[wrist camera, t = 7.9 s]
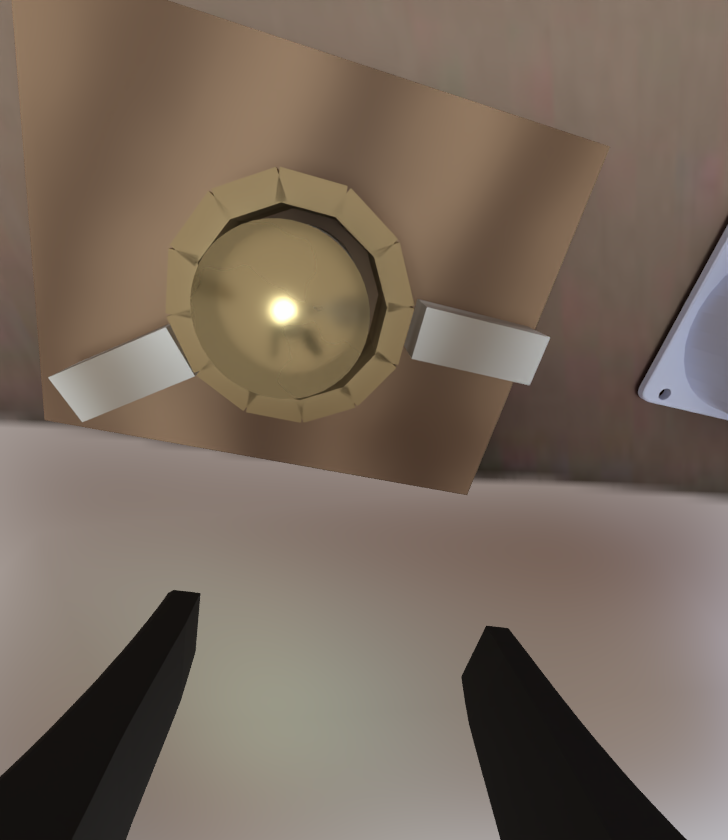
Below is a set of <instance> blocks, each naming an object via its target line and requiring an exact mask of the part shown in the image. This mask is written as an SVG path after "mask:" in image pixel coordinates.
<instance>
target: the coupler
mask: <svg viewBox="0 0 728 840" xmlns="http://www.w3.org/2000/svg"><path fill="white" fill-rule="evenodd" d="M190 308H191V317H192V322H193V326H194V329H195V333H196V336H197V338H198V340H199V342H200V344H201V347H202V348H203V350H204V352H205V353H206V355H207V356H208V358H209V359H210V360H211V362H212V363H213V364H214V365H215V367H216V368H217V369H218V370H219V371H220V372H221V373H222V374H223V375H225V376H226V377H227V378H229V379H230V380H231V381H232V382H234V383H236V384H237V385H239V386H240V387H242V388H244V389H246V390H248V391H250V392H253V393H256V394H259V395H262V396H266V397H271V398H278V399H296V398H302V397H307V396H311V395H314V394H317V393H319V392H322V391H324V390H326V389H328V388H329V387H331V386H333V385H334V384H336V383H337V382H338V381H339V380H341V379H342V378H343V377H344V376H345V375H346V374H347V373H348V372H349V371H350V370H351V368H352V367H353V366H354V364H355V363H356V362H357V360H358V358H359V356H360V355H361V353H362V350H363V348H364V345H365V343H366V339H367V335H368V331H369V323H370V308H369V300H368V295H367V291H366V287H365V284H364V282H363V279H362V277H361V274H360V272H359V270H358V269H357V267H356V265H355V263H354V261H353V259H352V257H351V255H350V253H349V252H348V250H347V249H346V248H345V246H344V245H343V244H342V243H341V242H340V241H339V240H338V239H337V238H336V237H335V236H333V235H332V234H330V233H329V232H327V231H326V230H323V229H321V228H319V227H316V226H312V225H308V224H305V223H301V222H297V221H293V220H288V219H280V218H266V219H260V220H253V221H250V222H247V223H244V224H241V225H239V226H237V227H235V228H233V229H231V230H229V231H228V232H226V233H225V234H224V235H222V236H221V237H220V238H218V239H217V240H216V241H215V242H214V243H213V244H212V245H211V246H210V248H209V249H208V250H207V252H206V253H205V254H204V256H203V258H202V259H201V261H200V263H199V265H198V267H197V270H196V272H195V275H194V278H193V282H192V287H191V296H190Z"/></svg>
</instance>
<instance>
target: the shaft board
mask: <svg viewBox="0 0 728 840" xmlns="http://www.w3.org/2000/svg"><path fill="white" fill-rule="evenodd" d="M12 13H13V25H14V38H15V51H16V63H17V76H18V88H19V101H20V114H21V126H22V139H23V152H24V164H25V177H26V190H27V202H28V215H29V228H30V240H31V253H32V266H33V278H34V291H35V304H36V316H37V329H38V342H39V354H40V367H41V380H42V392H43V405H44V418H45V420H47V421H53V422H59V423H64V424H70V425H75V426H81V427H87V428H92V429H98V430H104V431H109V432H115V433H120V434H126V435H132V436H137V437H143V438H149V439H154V440H160V441H165V442H171V443H177V444H182V445H188V446H194V447H199V448H205V449H211V450H216V451H222V452H227V453H233V454H239V455H244V456H250V457H256V458H261V459H267V460H272V461H278V462H284V463H289V464H295V465H301V466H306V467H312V468H317V469H323V470H329V471H334V472H340V473H346V474H352V475H357V476H363V477H368V478H374V479H379V480H385V481H391V482H396V483H402V484H408V485H413V486H419V487H425V488H430V489H436V490H442V491H447V492H452V493H458V494H464V495H467V494H468V491H469V489H470V486H471V484H472V482H473V479H474V477H475V474H476V472H477V469H478V467H479V465H480V462H481V460H482V457H483V455H484V452H485V450H486V448H487V445H488V443H489V440H490V438H491V435H492V433H493V431H494V428H495V426H496V423H497V421H498V418H499V416H500V413H501V411H502V409H503V406H504V404H505V401H506V399H507V396H508V394H509V392H510V389H511V387H512V384H513V382H517V383H521V384H526V385H530V384H531V381H532V379H533V377H534V374H535V372H536V370H537V367H538V365H539V363H540V360H541V358H542V356H543V353H544V351H545V349H546V346H547V344H548V342H549V339H550V337H548V336H546V335H544V334H542V333H540V332H538V331H536V330H535V328H536V326H537V323H538V321H539V319H540V316H541V314H542V311H543V309H544V306H545V304H546V301H547V299H548V297H549V294H550V292H551V289H552V287H553V284H554V282H555V280H556V277H557V275H558V272H559V270H560V267H561V265H562V263H563V260H564V258H565V255H566V253H567V250H568V248H569V245H570V243H571V241H572V238H573V236H574V233H575V231H576V228H577V226H578V224H579V221H580V219H581V216H582V214H583V211H584V209H585V207H586V204H587V202H588V199H589V197H590V194H591V192H592V189H593V187H594V185H595V182H596V180H597V177H598V175H599V172H600V170H601V168H602V165H603V163H604V160H605V158H606V155H607V153H608V151H609V148H610V147H609V146H606V145H603V144H600V143H597V142H594V141H591V140H588V139H585V138H582V137H579V136H576V135H573V134H570V133H567V132H564V131H561V130H558V129H555V128H552V127H549V126H546V125H543V124H540V123H537V122H534V121H531V120H528V119H525V118H522V117H519V116H516V115H513V114H510V113H507V112H504V111H501V110H498V109H495V108H491V107H488V106H485V105H482V104H479V103H476V102H473V101H470V100H467V99H464V98H461V97H458V96H455V95H452V94H449V93H446V92H443V91H440V90H437V89H434V88H431V87H428V86H425V85H422V84H419V83H416V82H413V81H410V80H407V79H404V78H401V77H398V76H395V75H392V74H389V73H386V72H383V71H380V70H377V69H374V68H371V67H368V66H364V65H361V64H358V63H355V62H352V61H349V60H346V59H343V58H340V57H337V56H334V55H331V54H328V53H325V52H322V51H319V50H316V49H313V48H310V47H307V46H304V45H301V44H298V43H295V42H292V41H289V40H286V39H283V38H280V37H277V36H274V35H271V34H268V33H265V32H262V31H259V30H256V29H253V28H250V27H247V26H244V25H241V24H237V23H234V22H231V21H228V20H225V19H222V18H219V17H216V16H213V15H210V14H207V13H204V12H201V11H198V10H195V9H192V8H189V7H186V6H183V5H180V4H177V3H174V2H171V1H168V0H12ZM266 218H280V219H288V220H293V221H297V222H301V223H305V224H308V225H312V226H316V227H319V228H321V229H323V230H326V231H327V232H329V233H330V234H332V235H333V236H335V237H336V238H337V239H338V240H339V241H340V242H341V243H342V244H343V245H344V246H345V248H346V249H347V250H348V252H349V253H350V255H351V257H352V259H353V261H354V263H355V265H356V267H357V269H358V270H359V272H360V274H361V277H362V279H363V282H364V284H365V287H366V291H367V295H368V300H369V308H370V323H369V331H368V335H367V339H366V343H365V345H364V348H363V350H362V353H361V355H360V356H359V358H358V360H357V362H356V363H355V364H354V366H353V367H352V368H351V370H350V371H349V372H348V373H347V374H346V375H345V376H344V377H343V378H342V379H341V380H339V381H338V382H337V383H336V384H334V385H333V386H331V387H329V388H328V389H326V390H324V391H322V392H319V393H317V394H314V395H311V396H307V397H302V398H296V399H278V398H271V397H266V396H262V395H259V394H256V393H253V392H250V391H248V390H246V389H244V388H242V387H240V386H239V385H237V384H236V383H234V382H232V381H231V380H230V379H229V378H227V377H226V376H225V375H223V374H222V373H221V372H220V371H219V370H218V369H217V368H216V367H215V365H214V364H213V363H212V362H211V360H210V359H209V358H208V356H207V355H206V353H205V352H204V350H203V348H202V347H201V344H200V342H199V340H198V338H197V336H196V333H195V329H194V326H193V322H192V317H191V308H190V296H191V287H192V282H193V278H194V275H195V272H196V270H197V267H198V265H199V263H200V261H201V259H202V258H203V256H204V254H205V253H206V252H207V250H208V249H209V248H210V246H211V245H212V244H213V243H214V242H215V241H216V240H217V239H218V238H220V237H221V236H222V235H224V234H225V233H226V232H228V231H229V230H231V229H233V228H235V227H237V226H239V225H241V224H244V223H247V222H250V221H253V220H260V219H266Z"/></svg>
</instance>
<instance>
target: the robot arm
mask: <svg viewBox="0 0 728 840" xmlns="http://www.w3.org/2000/svg"><path fill="white" fill-rule="evenodd" d="M663 389H664V392H663V394H662V395H660V396H659V393H660V392H661V391H662V390H663ZM638 395H639V396H640V398H642V399H644V400H645V401H647V402H651V403H655V404H659V405H664V406H668V407H673V408H677V409H681V410H686V411H690V412H694V413H699V414H703V415H707V416H712V417H716V418H720V419H725V420H728V225H727V227H726V229H725V231H724V232H723V234H722V236H721V238H720V240H719V242H718V243H717V245H716V247H715V249H714V251H713V253H712V255H711V256H710V258H709V260H708V262H707V264H706V266H705V267H704V269H703V271H702V273H701V275H700V277H699V278H698V280H697V282H696V284H695V286H694V288H693V289H692V291H691V293H690V295H689V297H688V299H687V300H686V302H685V304H684V306H683V308H682V310H681V311H680V313H679V315H678V317H677V319H676V321H675V322H674V324H673V326H672V328H671V330H670V332H669V333H668V335H667V337H666V339H665V341H664V343H663V345H662V346H661V348H660V350H659V352H658V354H657V356H656V357H655V359H654V361H653V363H652V365H651V367H650V368H649V370H648V372H647V374H646V376H645V378H644V379H643V381H642V383H641V385H640V387H639V390H638ZM199 603H200V593H195V592H186V591H177V590H173V591H171V592H169V593H168V594H167V596H166V597H165V599H164V600H163V601H162V603H161V604H160V605H159V607H158V608H157V609H156V611H155V612H154V613H153V614H152V616H151V617H150V618H149V619H148V621H147V622H146V623H145V624H144V626H143V627H142V628H141V629H140V631H139V632H138V633H137V634H136V636H135V637H134V638H133V639H132V640H131V641H130V643H129V644H128V645H127V646H126V647H125V648H124V650H123V651H122V652H121V653H120V654H119V655H118V656H117V657H116V659H115V660H114V661H113V662H112V663H111V664H110V665H109V666H108V668H107V669H106V670H105V671H104V672H103V673H102V674H101V676H100V677H99V678H98V679H97V680H96V681H95V682H94V683H93V684H92V685H91V687H90V688H89V689H88V690H87V691H86V692H85V693H84V694H83V695H82V696H81V697H80V698H79V699H78V700H77V701H76V702H75V703H74V704H73V706H71V707H70V708H69V710H67V712H66V713H65V714H64V715H63V716H62V717H61V718H60V719H59V720H58V721H57V722H56V723H55V724H54V725H53V726H52V727H51V728H50V729H49V730H48V731H47V732H46V733H45V734H44V735H43V736H42V737H41V738H40V739H39V740H38V741H37V742H36V743H35V744H34V745H33V746H32V747H31V748H30V749H29V750H28V751H27V752H26V753H25V754H24V755H23V756H22V757H21V758H19V760H18V761H16V762H15V763H14V764H13V765H12V766H11V767H10V768H9V769H8V770H7V771H6V772H5V773H4V774H3V775H1V777H0V840H126V838H127V835H128V832H129V830H130V827H131V824H132V822H133V819H134V816H135V814H136V811H137V809H138V807H139V804H140V802H141V799H142V796H143V794H144V792H145V789H146V787H147V784H148V782H149V779H150V777H151V774H152V772H153V769H154V767H155V764H156V762H157V759H158V757H159V754H160V751H161V749H162V747H163V744H164V741H165V739H166V737H167V734H168V731H169V729H170V727H171V724H172V721H173V719H174V716H175V714H176V711H177V709H178V706H179V704H180V701H181V698H182V695H183V691H184V688H185V685H186V682H187V678H188V675H189V672H190V668H191V665H192V661H193V658H194V655H195V650H196V637H197V627H198V614H199ZM462 684H463V691H464V698H465V704H466V710H467V715H468V721H469V725H470V729H471V733H472V737H473V740H474V744H475V748H476V752H477V755H478V759H479V763H480V767H481V770H482V774H483V777H484V781H485V785H486V788H487V792H488V796H489V799H490V803H491V806H492V810H493V814H494V817H495V820H496V825H497V828H498V832H499V835H500V839H501V840H686V839H685V838H684V837H683V836H682V835H681V834H680V832H679V831H678V830H677V829H675V827H674V826H673V825H672V824H671V823H670V822H669V821H668V820H667V819H666V818H665V817H664V816H663V815H662V814H661V812H660V811H658V809H657V808H656V807H655V806H654V805H653V804H652V803H651V802H650V801H649V800H648V799H647V798H646V797H645V795H644V794H643V793H642V792H641V791H640V790H639V789H638V788H637V787H636V786H635V785H634V783H633V782H632V781H631V780H630V779H629V778H628V777H627V776H626V774H625V773H624V772H623V771H622V770H621V769H620V768H619V766H618V765H617V764H616V763H615V762H614V761H613V759H612V758H611V757H610V756H609V755H608V754H607V752H606V751H605V750H604V749H603V748H602V747H601V745H600V744H599V743H598V742H597V741H596V740H595V738H594V737H593V736H592V735H591V733H590V732H589V731H588V730H587V729H586V727H585V726H584V725H583V724H582V723H581V721H580V720H579V719H578V718H577V716H576V715H575V714H574V713H573V711H572V710H571V709H570V707H569V706H568V705H567V704H566V703H565V701H564V700H563V699H562V697H561V696H560V695H559V693H558V692H557V691H556V690H555V688H554V687H553V686H552V684H551V683H550V682H549V681H548V679H547V678H546V677H545V675H544V674H543V673H542V672H541V670H540V669H539V668H538V666H537V665H536V664H535V662H534V661H533V660H532V658H531V657H530V656H529V654H528V653H527V652H526V651H525V649H524V648H523V647H522V645H521V644H520V643H519V642H518V640H517V639H516V638H515V636H514V635H513V634H512V633H511V631H510V630H509V629H508V628H501V627H492V626H486V627H485V629H484V632H483V634H482V636H481V638H480V640H479V642H478V644H477V646H476V648H475V650H474V652H473V654H472V656H471V658H470V660H469V663H468V664H467V666H466V668H465V670H464V673H463V675H462Z"/></svg>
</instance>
